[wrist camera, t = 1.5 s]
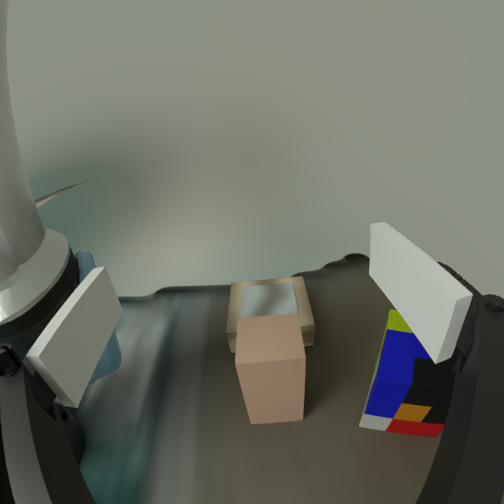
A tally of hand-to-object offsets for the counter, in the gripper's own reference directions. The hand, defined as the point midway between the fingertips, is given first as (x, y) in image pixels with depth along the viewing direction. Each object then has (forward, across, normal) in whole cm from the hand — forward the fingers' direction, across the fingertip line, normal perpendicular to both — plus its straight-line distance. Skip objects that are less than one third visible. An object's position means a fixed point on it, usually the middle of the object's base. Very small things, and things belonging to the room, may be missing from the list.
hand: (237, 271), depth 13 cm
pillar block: (+9, 0, -24) cm, 25 cm away
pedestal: (+24, +1, -23) cm, 33 cm away
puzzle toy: (+5, +16, -24) cm, 30 cm away
